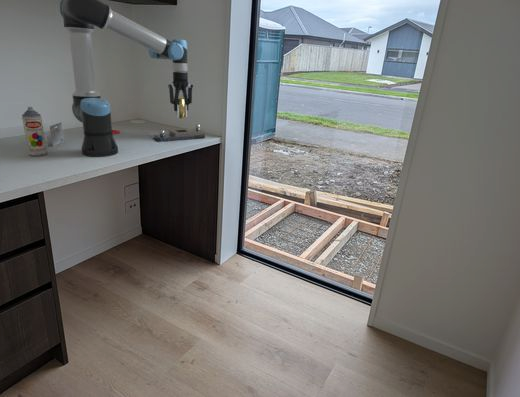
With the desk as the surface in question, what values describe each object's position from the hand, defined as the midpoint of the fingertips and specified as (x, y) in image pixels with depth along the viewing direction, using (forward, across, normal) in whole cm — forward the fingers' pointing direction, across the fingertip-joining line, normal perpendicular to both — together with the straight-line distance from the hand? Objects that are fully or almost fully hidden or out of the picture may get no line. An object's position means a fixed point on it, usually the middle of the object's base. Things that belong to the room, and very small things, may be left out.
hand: (181, 116), depth 197 cm
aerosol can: (+12, +70, +10) cm, 72 cm away
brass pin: (0, 0, 0) cm, 0 cm away
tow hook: (+12, +31, -26) cm, 42 cm away
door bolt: (+12, 0, 0) cm, 12 cm away
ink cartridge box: (+12, +61, -7) cm, 63 cm away
